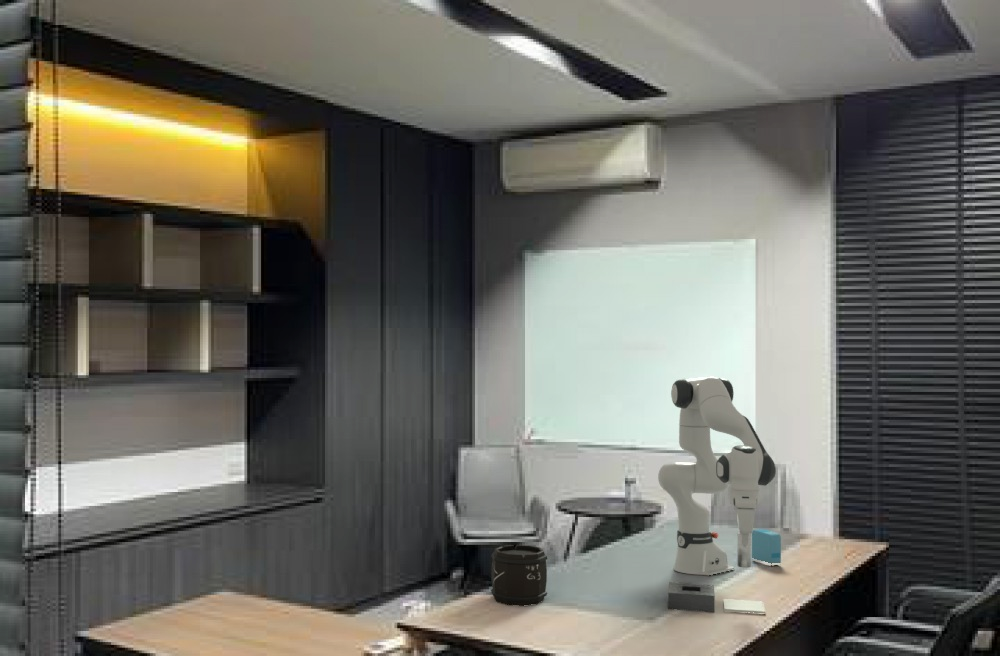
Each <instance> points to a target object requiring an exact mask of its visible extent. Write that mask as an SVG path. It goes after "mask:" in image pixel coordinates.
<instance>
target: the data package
mask: <svg viewBox="0 0 1000 656" xmlns="http://www.w3.org/2000/svg"><path fill="white" fill-rule="evenodd" d="M781 549H782V537H781V535H780V533H777V532H774V531H771V530H768V529H763V528H762V529H760V528H759V529H753V530H752V533H751V559H752V558H754V559H757V560H761V561H765V562H768V563H771V564H772V563H782V562H781V561H782V560H781V559H782V557H781V555H782V554H781V553H782V550H781Z"/></svg>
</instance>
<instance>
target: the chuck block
mask: <svg viewBox="0 0 1000 656" xmlns="http://www.w3.org/2000/svg"><path fill="white" fill-rule="evenodd" d="M667 590H668V591H667V610H674V609H677V610H676V611H689V612H690V611H691V612H703V611H705V613H715V610H716V609H715V603H716V601H715V597H716V596H715V595H716V594H715V584H708V583H706V584H705V583H690V582H674V581H669V582H668V589H667Z"/></svg>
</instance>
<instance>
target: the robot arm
mask: <svg viewBox="0 0 1000 656" xmlns="http://www.w3.org/2000/svg"><path fill="white" fill-rule="evenodd" d="M670 391H671V392H670V397H671V401H672V403H673V405H674V406H675V407H676V408H679V409H680V412H679V424H678V425H679V426H678V427H679V428H678V435H679V436H678V443H679V446H680V448H681V449H682V450H683V451H684V452H686V453H688V454H690V455H691V456H693V457H695V459H696V462H679V461H678V462H677V461H675V462H671V463H664V464H663V465H662V466H661V467H660V469H659V471H658V476H657V479H658V483H659V485H660V487H661V489H663V490H664V491H665V492H666V493H668V495H669V496H670V497H671V499H673V501H674V504H675V507H676V510H677V522H678V523H677V524H678V525H677V526H678V527H677V529H678V530H677V532H676V542H677V548H676V550H677V551H676V554H675V555H676V556H675V562H674V566H673V568H672V569H673V570H674V571H675V572H678V573H681V574H682V573H683V574H688V575H702V576H709V575H711V576H714V575H713V574H716V575H718V574H717V573H720V574H722V573H721V572H724V573H726V572H725V571H728V570H732V569H734V570H735V567H734V566H733V565H731V564H729V562H728V555H727V554H726V551H725V550H724V549H722V548H721V547H719V545H717V543H715V542H714V539H718V538H719V534H718V532H711V531H710V511H709V509H708V508H707V507H706V506H705V505H704V504H702V503H701V502H699V501H696V500H695V499H694V498H693V496H692V495H693V494H706V495H707V494H711V495H713V494H720V493H725V492H726V491H727V490H728V488H729V504H731V505H732V506H733V509H734V510H736V512H737V513H736V522H737V526H738V529H739V533H741V535H742V545H748V536H749V534H751V535H752V531H753V530H754V523H755V522H754V521H755V514H756V513H755V512H756V509H757V507H758V506H759V505H760V486H767V485H769V484H770V483H771V482H772V481H773V480H774V479H775V477H776V472H777V470H776V469H777V468H776V464H775V462H774V460H773V458H772V457H771V455H769V453H768V452H767V450H766V449H765V447H764V445H763V443H762V441H761V440H760V438H759V435H758V434H757V432H756V430H755V428H754V426H753V425H752V423H751V421H750V420H749V418H748V417H746V416H745V415H743V414H742V413H740V412H739V411H738V409H737V408H736V407H735V406H734V404H733V400H734V393H735V392H734V387H733V384H732V382H731V381H730V380H728V379H725V378H720V377H719V378H718V377H714V376H710V377H708V376H707V377H698V378H697V377H696V378H688V379H686V378H682V379H676V381H674V382H673V384H672V387H671V390H670ZM711 430H713V431H716V432H718V433H723V434H727V435H730V436H732V437H735V438H737V439H738V440H740V441H741V442H742V443H743V444H738V445H735V446H733V447H732V449H731V451H730V452H729V453H726V454H722V455H721V456H720V457H719V458H717V457H716V455H715V454H714V451H713V449H712V442H711Z"/></svg>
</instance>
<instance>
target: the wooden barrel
mask: <svg viewBox="0 0 1000 656" xmlns="http://www.w3.org/2000/svg"><path fill="white" fill-rule="evenodd" d="M491 558H492V561H491V562H492V563H491V570H490V573H491V589H490V592H491V594H492V596H493V599H494V600H495V602H496V603H498V604H502V605H506V606H513V605H519V606H518V607H525V606H524V605H528V606H532V605H531V604H536V605H538V603H539V602H540V603H542V602H543V601H544V600H545V597H547V594H548V592H547V591H546V589H547V581H548V580H547V578H548V575H547V574H548V573H547V572H548V570H547V560H548V556H547V554H546V553H545V551H544V550H543V549H542V547H540V546H535V545H528V544H516V545H515V546H514V544H509V545H503V546H499V547H495V548H494V551H493V552H492V553H491ZM541 601H542V602H541ZM540 603H539V604H540Z"/></svg>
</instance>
